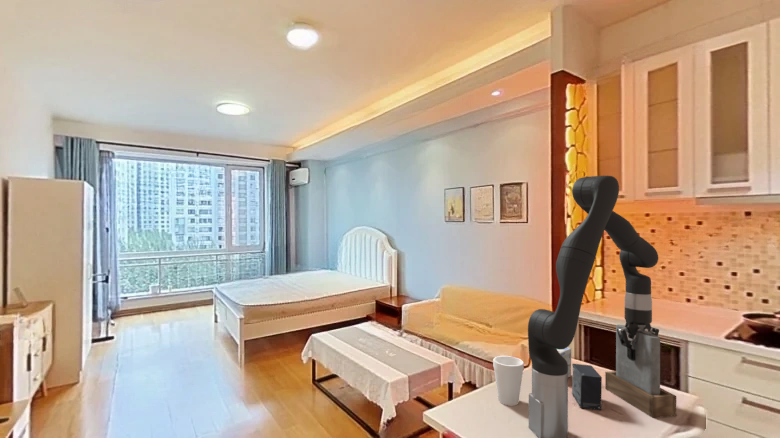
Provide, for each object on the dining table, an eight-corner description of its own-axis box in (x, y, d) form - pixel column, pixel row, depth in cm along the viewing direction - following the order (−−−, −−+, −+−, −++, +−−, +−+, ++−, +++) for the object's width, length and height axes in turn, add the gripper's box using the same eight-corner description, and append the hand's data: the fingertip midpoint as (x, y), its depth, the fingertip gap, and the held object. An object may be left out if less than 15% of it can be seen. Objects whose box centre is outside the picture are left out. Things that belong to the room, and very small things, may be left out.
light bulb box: (554, 370, 150) (554, 343, 150) (572, 376, 144) (572, 347, 144) (540, 377, 143) (540, 348, 143) (558, 383, 138) (558, 353, 138)
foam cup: (487, 400, 124) (487, 360, 124) (502, 391, 130) (502, 353, 131) (514, 411, 117) (514, 368, 117) (528, 401, 123) (529, 361, 123)
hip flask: (613, 375, 131) (614, 317, 132) (624, 374, 132) (624, 317, 132) (653, 396, 116) (653, 330, 116) (665, 395, 117) (665, 329, 117)
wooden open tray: (652, 417, 113) (652, 397, 114) (605, 388, 133) (605, 371, 133) (676, 416, 115) (676, 396, 115) (625, 387, 134) (625, 370, 135)
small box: (603, 411, 118) (603, 376, 118) (580, 408, 119) (580, 375, 119) (592, 395, 128) (592, 364, 128) (571, 394, 129) (571, 363, 129)
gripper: (627, 309, 120) (627, 364, 119) (667, 308, 122) (667, 363, 121) (610, 304, 127) (609, 356, 127) (648, 304, 129) (647, 355, 129)
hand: (637, 359), depth 124 cm, fingers closed on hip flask, 4 cm apart
